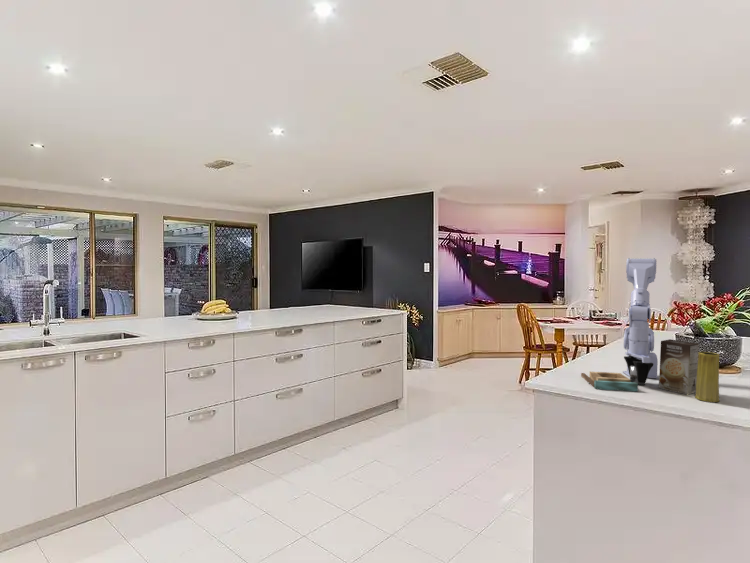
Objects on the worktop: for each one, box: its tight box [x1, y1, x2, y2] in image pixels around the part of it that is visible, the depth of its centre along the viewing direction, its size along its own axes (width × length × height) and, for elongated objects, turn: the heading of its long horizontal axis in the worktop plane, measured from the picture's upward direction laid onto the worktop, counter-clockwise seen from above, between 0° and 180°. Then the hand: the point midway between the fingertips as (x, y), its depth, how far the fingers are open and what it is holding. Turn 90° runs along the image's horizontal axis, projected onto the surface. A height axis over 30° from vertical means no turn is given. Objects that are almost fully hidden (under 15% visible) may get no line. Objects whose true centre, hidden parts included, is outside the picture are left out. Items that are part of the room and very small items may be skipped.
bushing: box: [629, 365, 646, 386], centre depth 159 cm, size 4×4×6 cm
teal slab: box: [580, 372, 639, 392], centre depth 159 cm, size 13×18×2 cm
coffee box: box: [658, 339, 700, 395], centre depth 151 cm, size 9×6×16 cm
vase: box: [694, 351, 720, 403], centre depth 140 cm, size 6×6×14 cm
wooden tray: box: [588, 371, 630, 382], centre depth 157 cm, size 10×10×3 cm
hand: (637, 379), depth 159 cm, fingers open, 7 cm apart
